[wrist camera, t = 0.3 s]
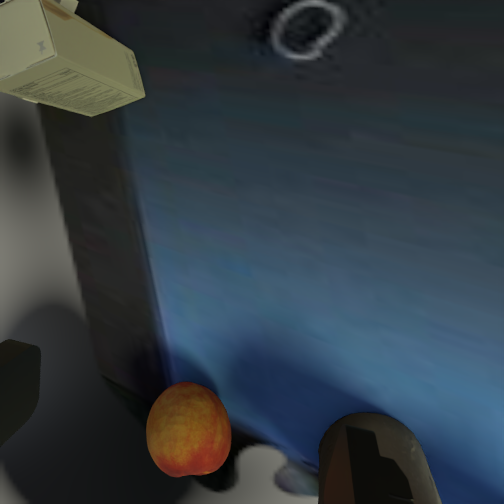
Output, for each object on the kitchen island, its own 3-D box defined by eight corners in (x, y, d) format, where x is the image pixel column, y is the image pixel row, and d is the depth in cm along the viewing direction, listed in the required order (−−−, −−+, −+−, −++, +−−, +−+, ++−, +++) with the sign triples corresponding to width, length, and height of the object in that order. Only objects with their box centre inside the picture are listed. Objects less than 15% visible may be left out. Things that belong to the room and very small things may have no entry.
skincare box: (134, 49, 37) (40, -18, 25) (147, 98, 37) (62, 54, 25) (73, 73, 38) (-44, 20, 26) (87, 119, 38) (-22, 87, 27)
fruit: (165, 440, 42) (128, 497, 34) (162, 366, 41) (123, 408, 33) (239, 449, 41) (218, 510, 33) (239, 373, 39) (216, 418, 32)
